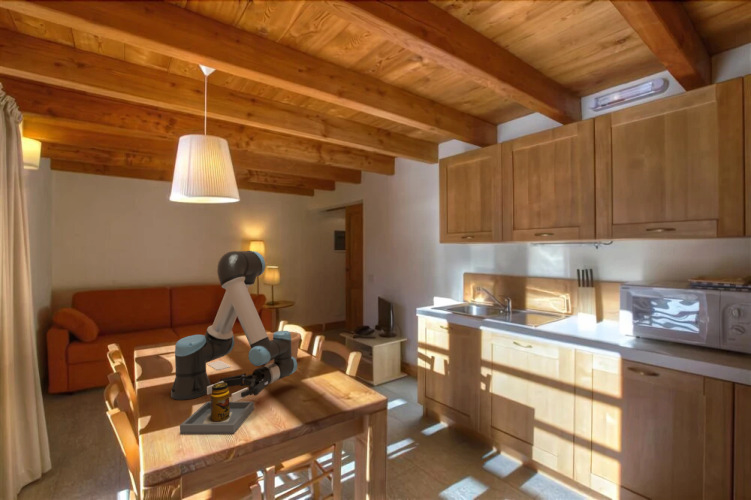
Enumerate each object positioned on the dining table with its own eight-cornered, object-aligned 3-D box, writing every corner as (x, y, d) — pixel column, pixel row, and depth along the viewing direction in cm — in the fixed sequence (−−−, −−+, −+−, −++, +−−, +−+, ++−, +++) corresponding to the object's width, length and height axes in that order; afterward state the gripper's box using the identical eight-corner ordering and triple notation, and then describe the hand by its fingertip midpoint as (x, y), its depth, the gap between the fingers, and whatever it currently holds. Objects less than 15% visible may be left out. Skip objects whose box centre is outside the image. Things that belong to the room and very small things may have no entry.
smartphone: (220, 360, 195) (231, 366, 184) (220, 361, 195) (231, 367, 184) (206, 363, 189) (216, 369, 179) (206, 365, 189) (216, 371, 179)
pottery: (298, 354, 204) (297, 329, 204) (304, 366, 183) (303, 338, 183) (258, 359, 196) (258, 333, 196) (260, 372, 175) (260, 343, 175)
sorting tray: (179, 434, 117) (179, 425, 117) (207, 409, 135) (207, 401, 135) (233, 434, 116) (233, 425, 116) (253, 409, 134) (253, 401, 134)
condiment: (228, 422, 123) (227, 387, 123) (202, 424, 121) (201, 390, 121) (232, 412, 130) (232, 380, 130) (207, 415, 128) (207, 382, 128)
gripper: (288, 390, 137) (243, 412, 119) (245, 379, 150) (198, 397, 132) (288, 370, 137) (243, 390, 119) (244, 361, 150) (197, 377, 132)
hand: (219, 394), depth 125 cm, fingers open, 13 cm apart
